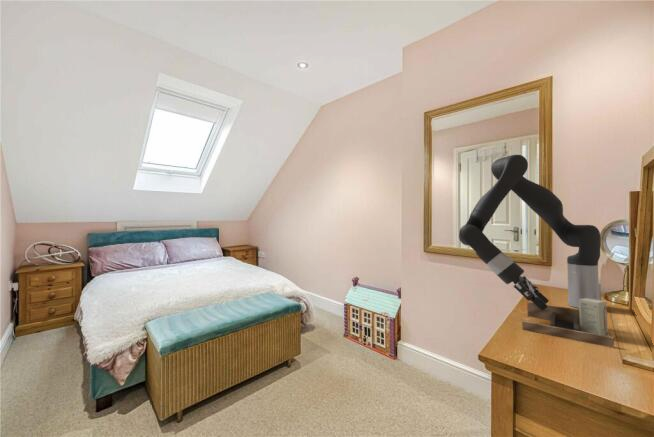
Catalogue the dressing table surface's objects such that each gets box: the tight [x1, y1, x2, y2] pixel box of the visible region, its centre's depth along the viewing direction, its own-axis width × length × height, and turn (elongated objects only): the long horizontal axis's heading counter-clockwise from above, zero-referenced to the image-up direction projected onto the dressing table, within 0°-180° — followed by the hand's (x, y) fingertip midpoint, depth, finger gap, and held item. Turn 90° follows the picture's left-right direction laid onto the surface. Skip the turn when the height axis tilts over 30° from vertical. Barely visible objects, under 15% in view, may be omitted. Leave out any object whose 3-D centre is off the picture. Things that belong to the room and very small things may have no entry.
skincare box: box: [578, 298, 609, 336], centre depth 84 cm, size 5×4×10 cm
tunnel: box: [521, 301, 615, 348], centre depth 89 cm, size 20×18×5 cm
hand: (545, 305), depth 92 cm, fingers open, 8 cm apart
